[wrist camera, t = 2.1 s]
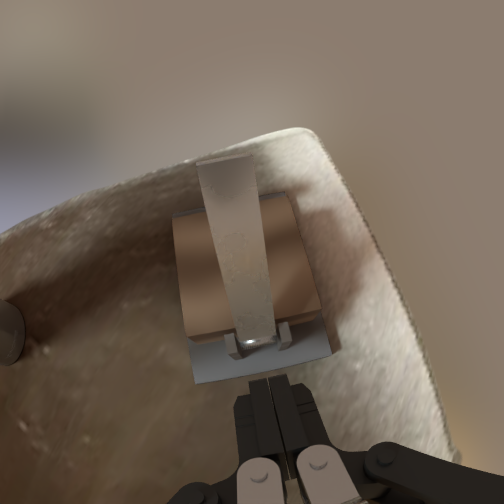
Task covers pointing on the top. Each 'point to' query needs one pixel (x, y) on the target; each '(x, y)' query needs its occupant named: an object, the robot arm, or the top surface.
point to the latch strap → (240, 245)
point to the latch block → (217, 305)
